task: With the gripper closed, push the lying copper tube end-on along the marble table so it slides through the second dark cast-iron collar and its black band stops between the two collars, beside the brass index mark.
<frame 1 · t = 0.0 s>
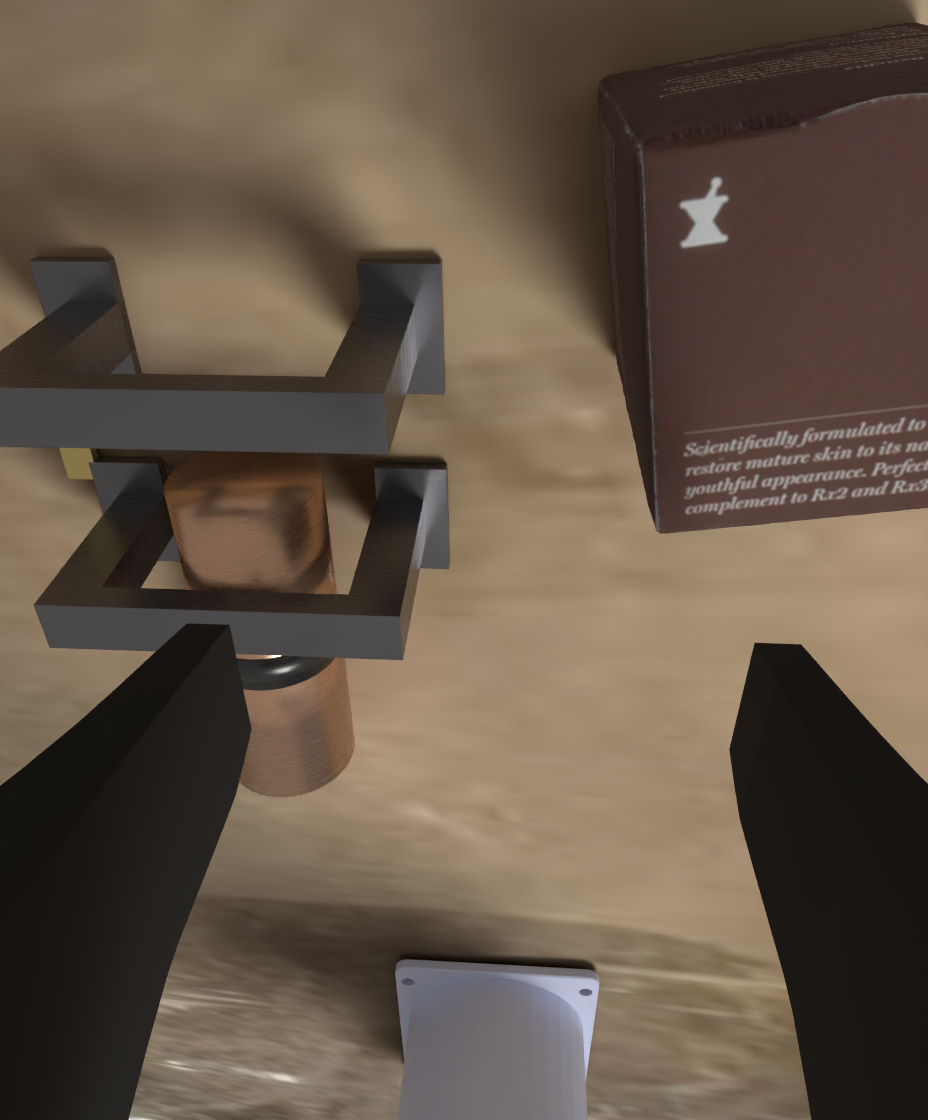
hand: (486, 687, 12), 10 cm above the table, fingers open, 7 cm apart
tube: (288, 587, 24), on the table
box: (750, 208, 18), on the table
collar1: (275, 510, 23), on the table
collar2: (246, 325, 20), on the table
index mark: (73, 420, 22), on the table
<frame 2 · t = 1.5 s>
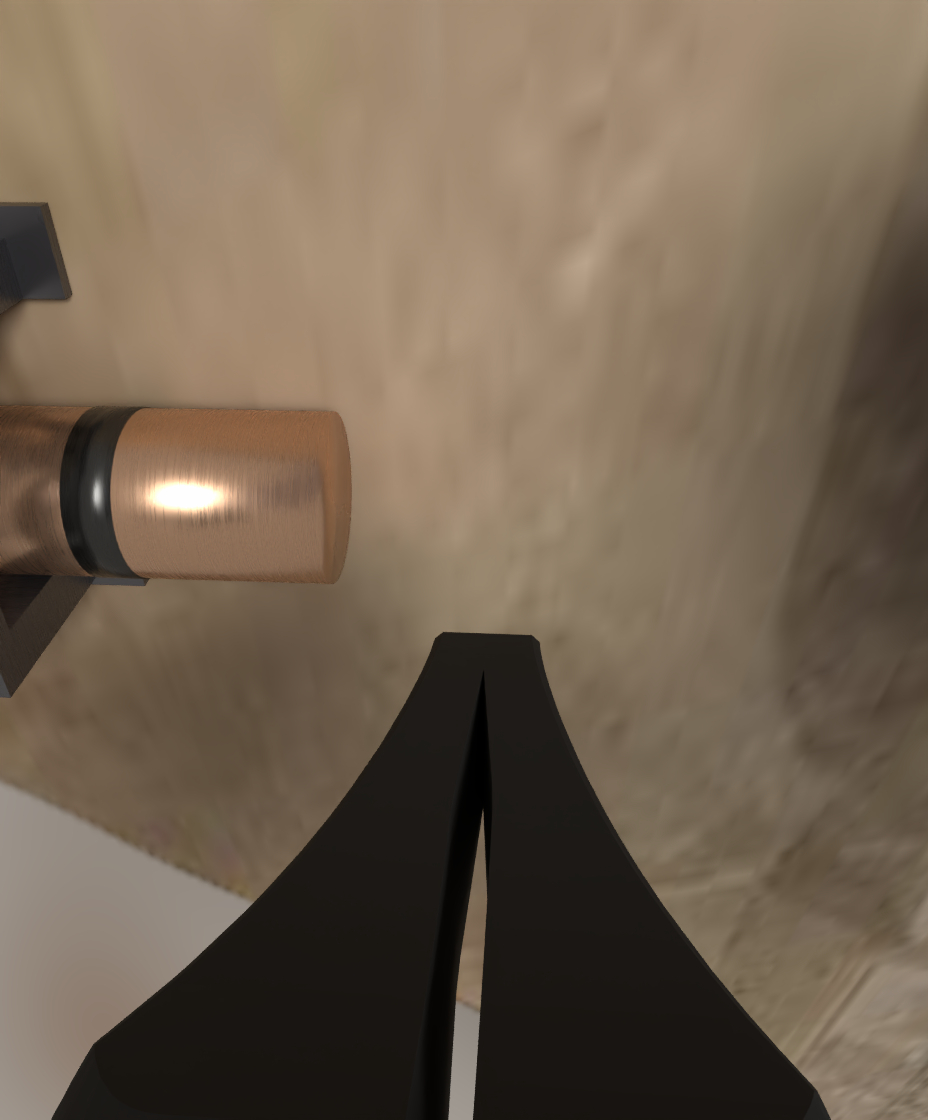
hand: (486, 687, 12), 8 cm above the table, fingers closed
tube: (144, 423, 19), on the table, tilted 29°
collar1: (40, 414, 20), on the table
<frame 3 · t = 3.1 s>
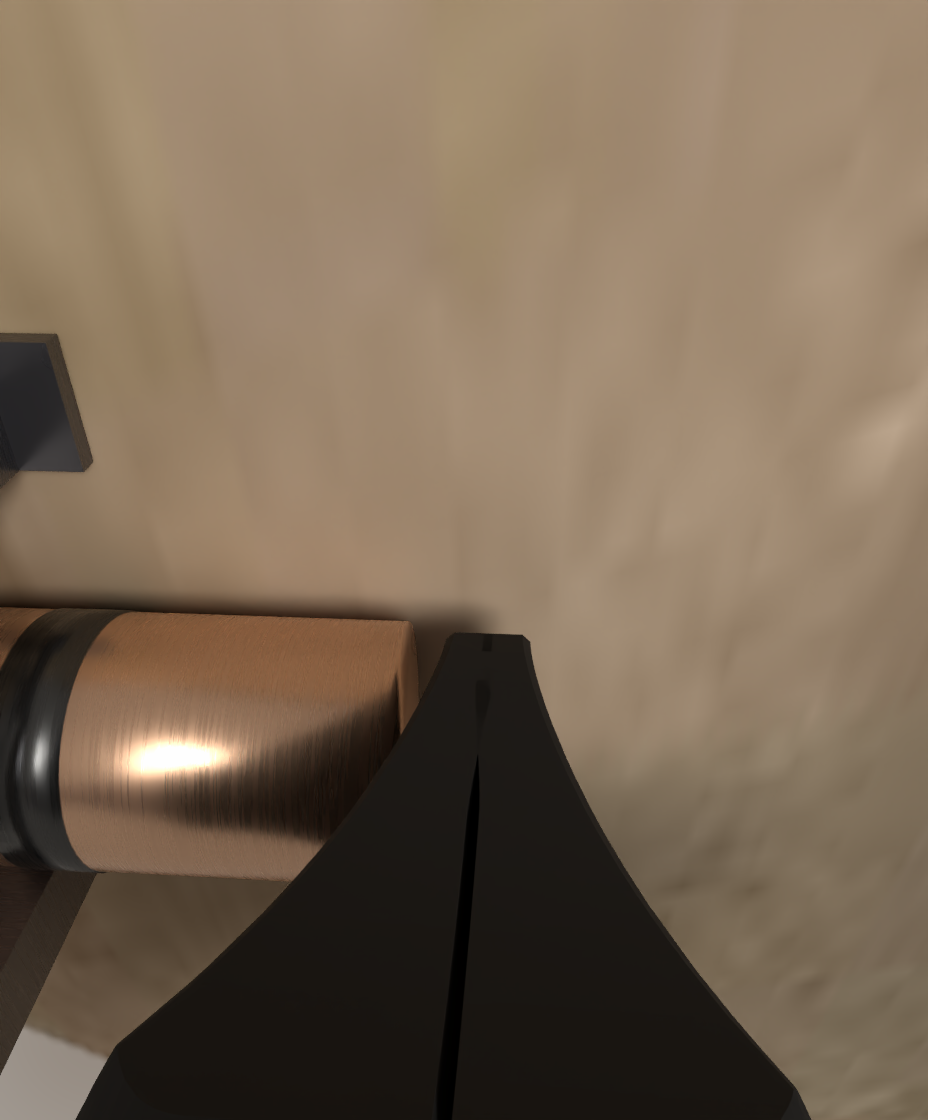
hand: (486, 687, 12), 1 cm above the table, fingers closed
tube: (124, 625, 13), on the table, tilted 23°, touching gripper
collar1: (44, 614, 14), on the table
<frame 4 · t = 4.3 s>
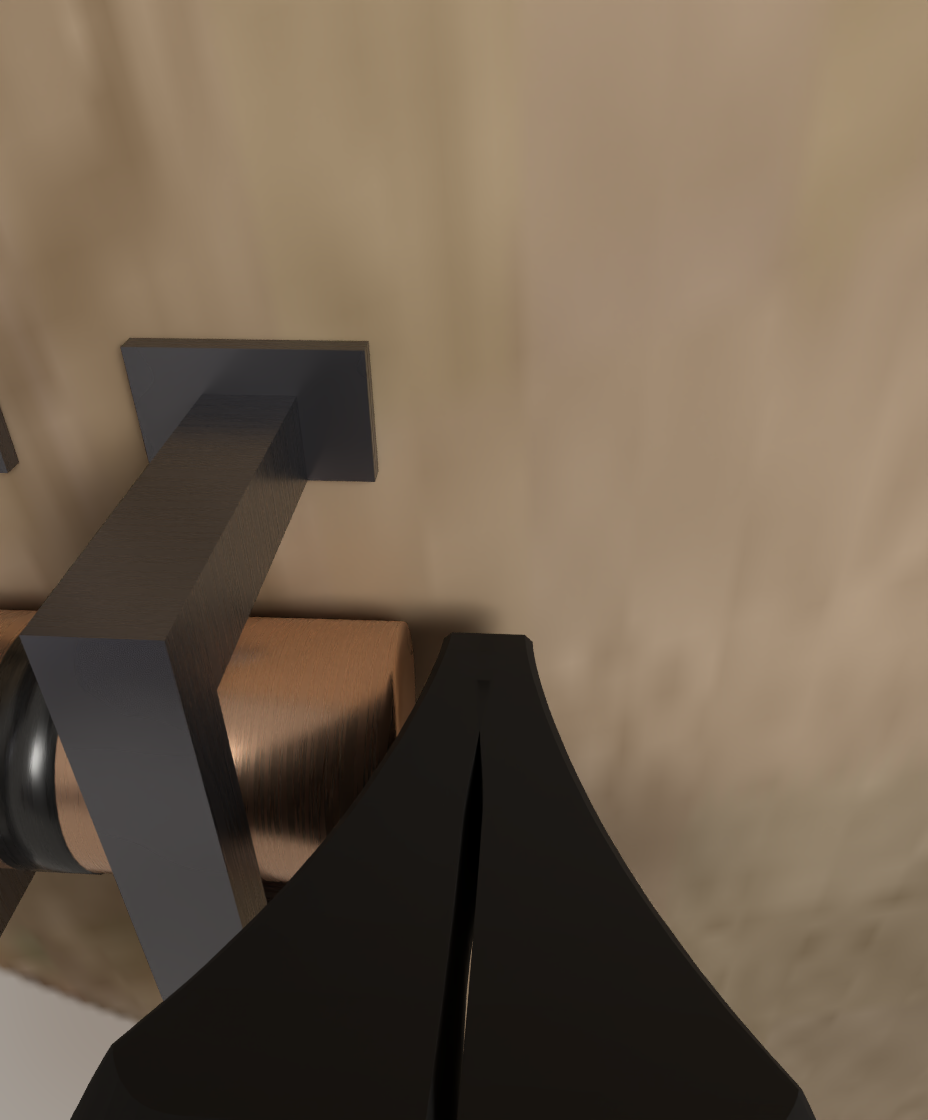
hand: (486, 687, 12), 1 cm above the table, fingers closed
tube: (121, 626, 13), on the table, tilted 23°, touching gripper
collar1: (293, 625, 13), on the table
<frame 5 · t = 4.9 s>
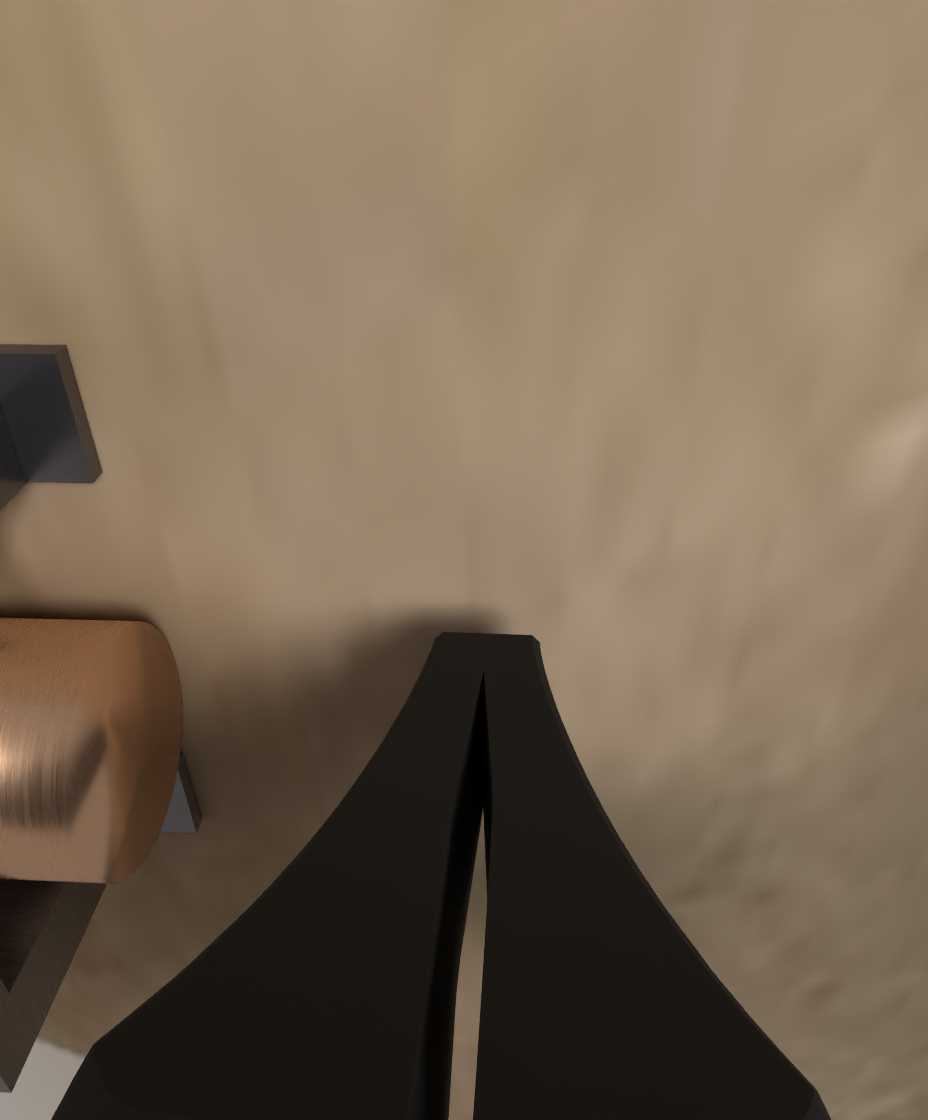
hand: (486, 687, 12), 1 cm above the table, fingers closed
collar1: (52, 625, 13), on the table
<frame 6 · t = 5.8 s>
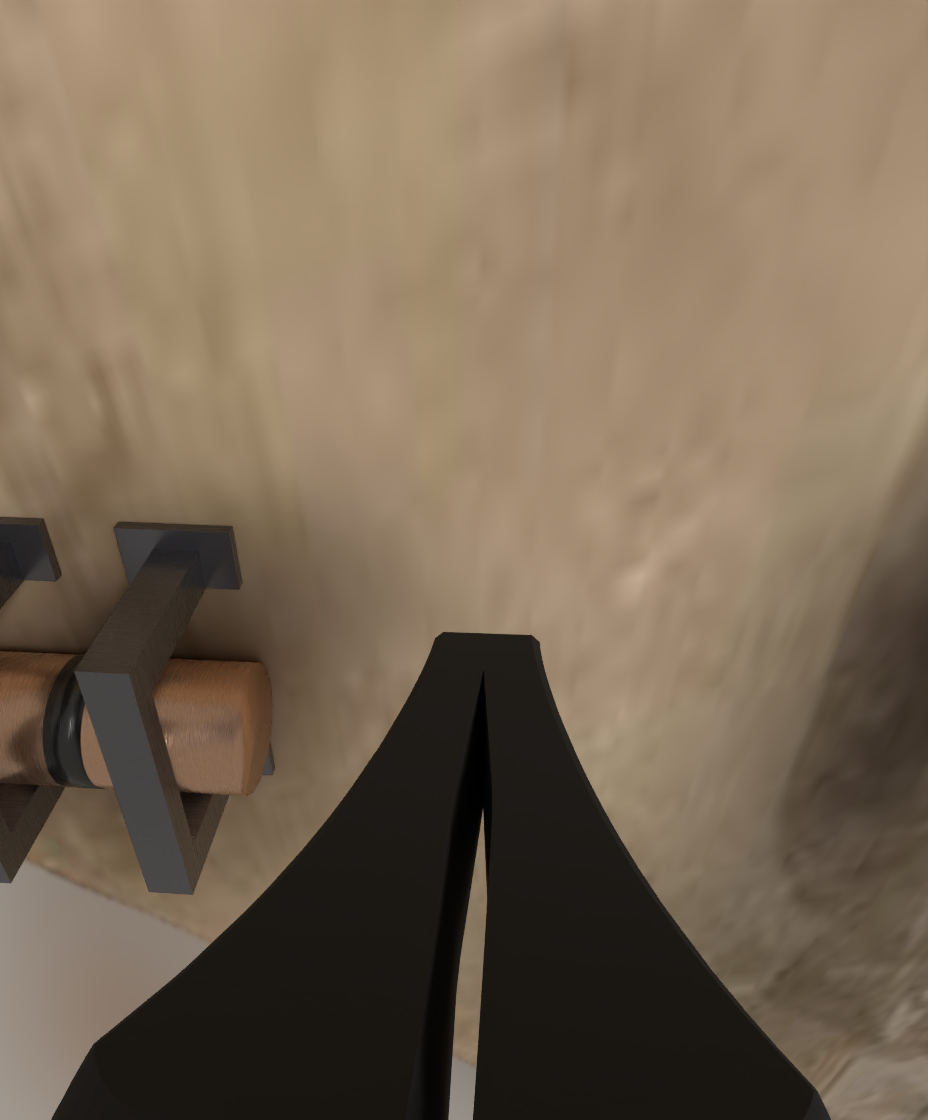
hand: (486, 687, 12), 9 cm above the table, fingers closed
tube: (110, 659, 25), on the table, tilted 28°
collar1: (204, 657, 25), on the table
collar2: (35, 649, 25), on the table
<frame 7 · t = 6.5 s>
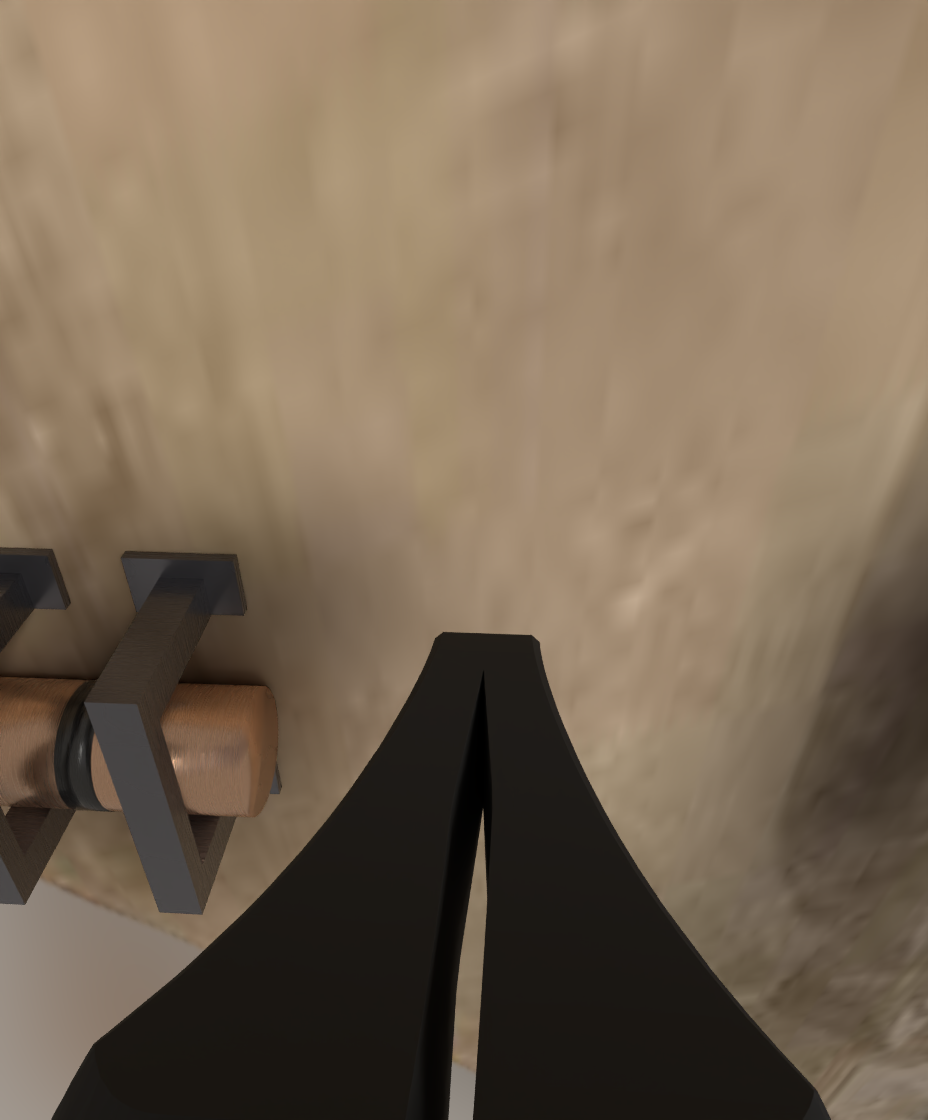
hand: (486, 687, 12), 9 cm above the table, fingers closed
tube: (119, 684, 25), on the table, tilted 29°
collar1: (211, 680, 25), on the table
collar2: (46, 674, 26), on the table
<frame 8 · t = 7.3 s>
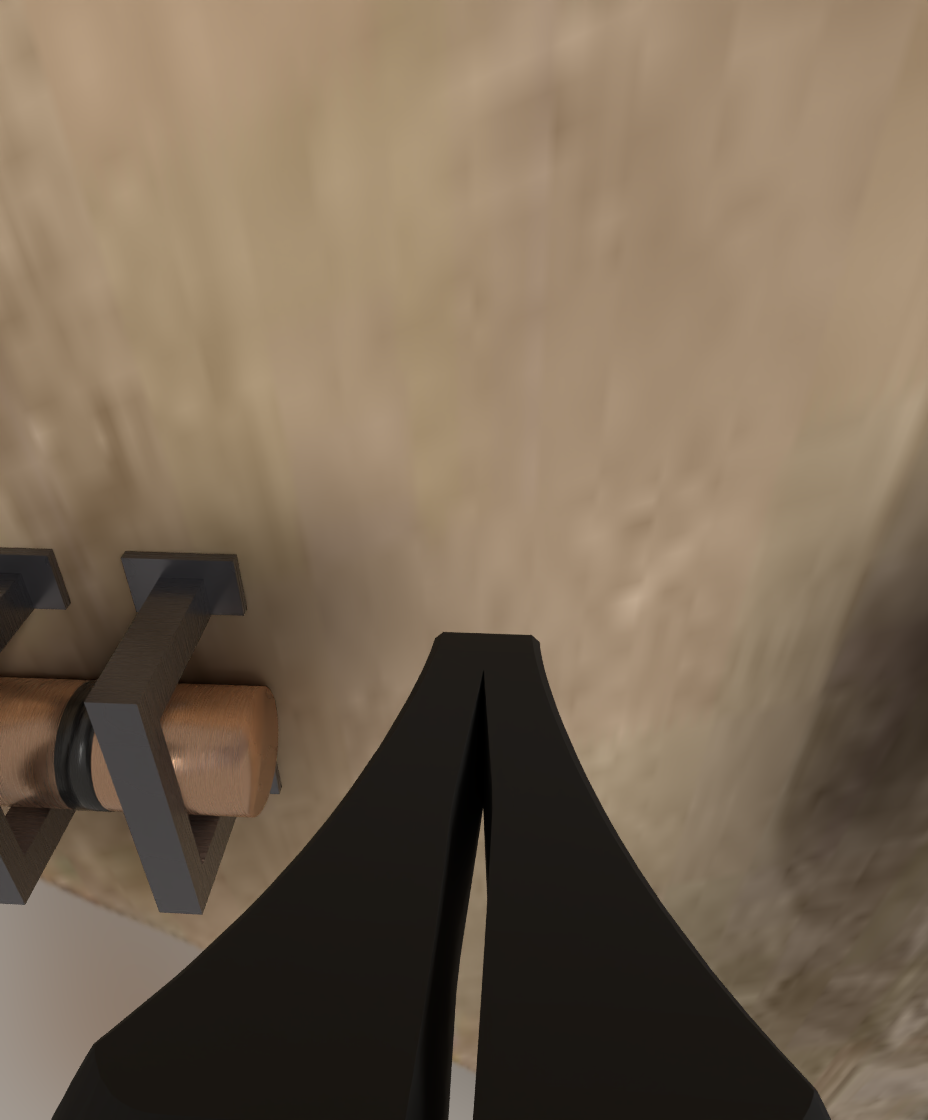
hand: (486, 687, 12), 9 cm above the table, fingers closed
tube: (119, 684, 25), on the table, tilted 29°
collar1: (211, 680, 25), on the table
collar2: (46, 674, 26), on the table
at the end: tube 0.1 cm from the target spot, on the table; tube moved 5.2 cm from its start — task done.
